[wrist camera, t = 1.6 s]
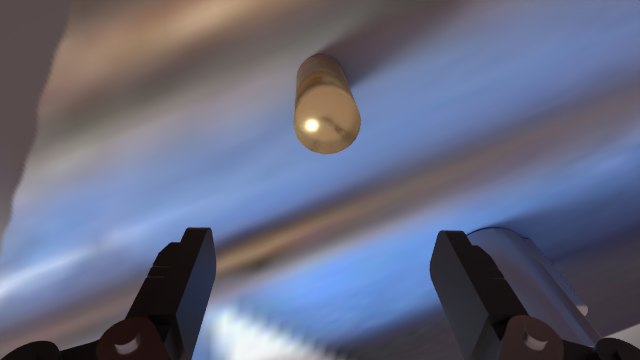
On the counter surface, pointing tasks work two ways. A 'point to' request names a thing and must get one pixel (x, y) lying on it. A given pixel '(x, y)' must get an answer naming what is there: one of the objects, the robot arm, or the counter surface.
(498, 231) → the robot arm
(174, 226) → the counter surface
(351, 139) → the brass cylinder
